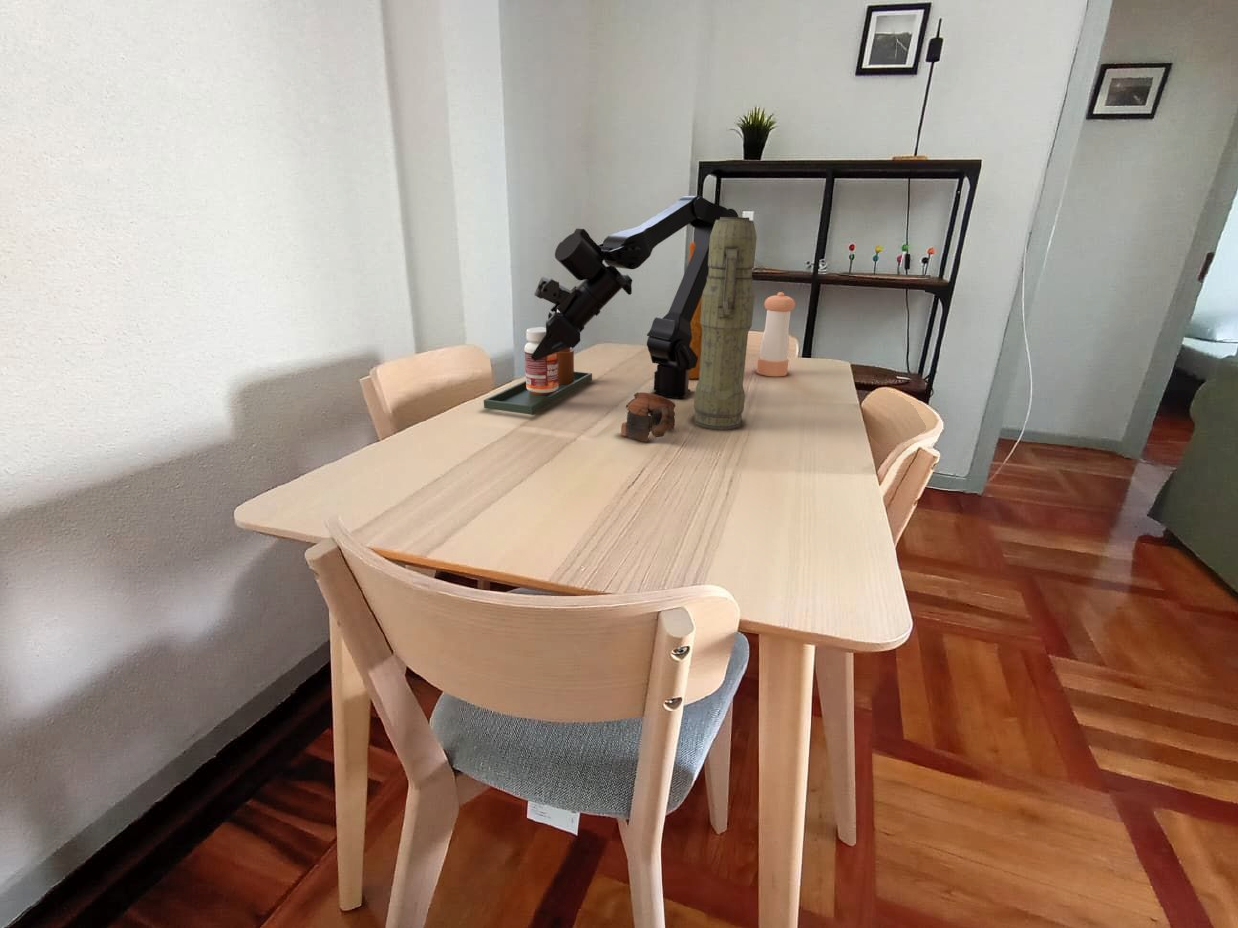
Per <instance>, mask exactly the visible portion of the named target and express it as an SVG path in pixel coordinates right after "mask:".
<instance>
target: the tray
mask: <svg viewBox="0 0 1238 928" xmlns="http://www.w3.org/2000/svg"><path fill="white" fill-rule="evenodd" d="M591 381H593V373H591V372H584V371H575V370H574V382H573V383H571V384H568V385H559V387H558V389H557V390H555V392H554V393H552V394H551V395H547V396H537V395H533V394H531V393H530V391H529V390H527V387H526V380H524V381H522V382H519V383H517V384H515V385H513V386H511V387H508V388H506V389H504V390H502V391H500V392H498V393H496V394H494V395H491V396H489V397H487V398H484V399H483V409H487V410H495V411H502V412H511V413H515V414H516V413H518V414H524V415H531V416H532V415H534V414H536V413H537V412H539V411H541V410H542V409H544V408H546V407H548V406H550V405H551V404H553V403H555V402H557V401H559V400H560V399H562V398H563V397H565V396H567V395H569V394H570V393H572V392H574V391H576V390H577V389H579V388H581V387H582V386H585V385H586V384H588V383H590V382H591Z"/></svg>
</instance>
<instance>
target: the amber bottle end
mask: <svg viewBox="0 0 1238 928" xmlns="http://www.w3.org/2000/svg"><path fill="white" fill-rule="evenodd" d="M574 371H575V351H574V349H573V348H571V347H570V348H567V349H564V350H561V351H559V352H558V383H559V385H568V384H571V383H573V382H574Z"/></svg>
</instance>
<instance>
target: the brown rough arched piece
mask: <svg viewBox="0 0 1238 928" xmlns="http://www.w3.org/2000/svg"><path fill="white" fill-rule="evenodd" d="M633 397H634V398H633V399H631V400H630V401H629V402H627V404H626V405H625V408H626V409H627V415H626V422H623V423H621V427H620V436H621V437H627V438H630V439H634V440H638V441H641V442H644V443H647V442H648V441H649V436H650V433H651V434H652V436H653V437H655V438H656V439H658V438H662V437H664V436H665V433H666V432H667V431H671V430H674V429H675V426H676V420H675V416H676V412H675V408H676V407H677V405H676V404H675V402H674V401H672V400H671V399H669V398H667V397H663V396H658V395H655V394H653V393H650V392H643V391H641V392H635V393H634V395H633Z"/></svg>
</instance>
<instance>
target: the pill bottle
mask: <svg viewBox="0 0 1238 928" xmlns="http://www.w3.org/2000/svg"><path fill="white" fill-rule="evenodd" d="M545 334H546V326H545V327H542V326H540V327H539V326H537V327H529V328H527V329H526V334H525V335H526V340H527V341H528V342H527V343H526V344H525V345H524V365H525V366H524V367H525V381H526V387H527V390H529V391H531V392H536V393H548V392H553V391H555V390H557V389H558V387H559V383H558V352H556V353H554V354H551V355H549V356H546V357H544V358H541V359H539V360H536V361H534V360H533V359H532V358H531V355H532V354H533V352H534V351H535V349H536V348H537V346H538V345H539V343H540V342H541V340H542V339H543V337H544V336H545Z"/></svg>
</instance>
